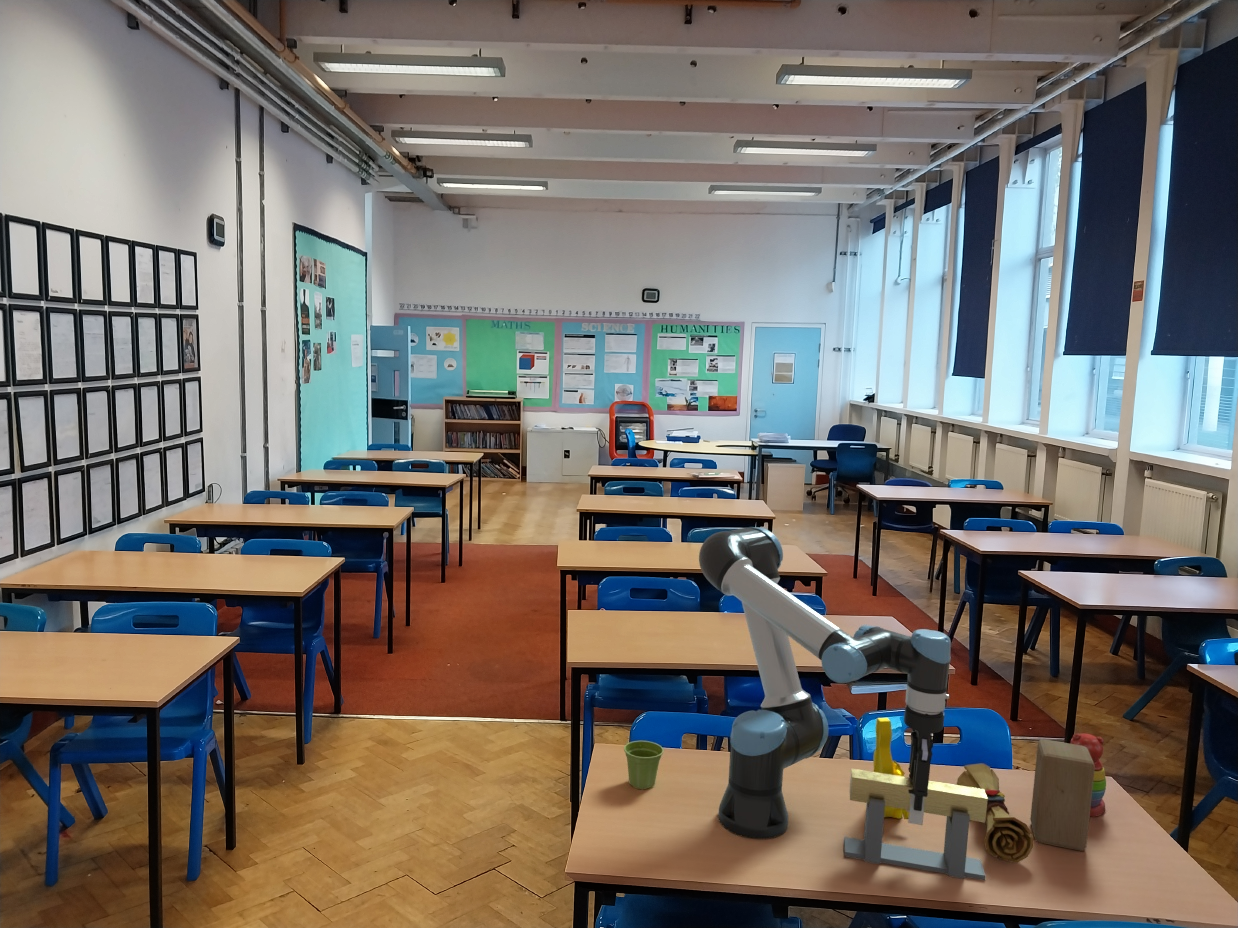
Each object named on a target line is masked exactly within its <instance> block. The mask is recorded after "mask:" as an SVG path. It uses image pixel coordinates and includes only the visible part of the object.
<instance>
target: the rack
mask: <svg viewBox="0 0 1238 928" xmlns="http://www.w3.org/2000/svg"><path fill="white" fill-rule="evenodd" d="M884 811H885V801H884V800H878V799H872V798H869V803H866V806H865V817H864V819H865V820H864V821H865V822H864V833H863V839H860V838H853V837H848V836H844V839H843V847H844V848H843V849H844V857H846V858H851V859H852V858H853V859H858V860H864V862H865V863H869V864H870V863H871V864H878V865H881V864H888V865H893V866H899V867H905V868H909V869H915V870H916V869H917V870H922V871H928V872H934V873H938V874H945V875H947V876H948V877H950V878H951V877H952V878H957V879H963V880H964V879H965V878H969V879H974V880H980V881H986V872H985V870H984V867H983V863H982V860H981V859H980V858H973V857H968V856H967V851H968V841H969V840H968V838H969V831H970V821H971V820H970V816H969V814H968V813H962V812H955V811H953V815H952V817H948V816H946V823H945V824H946V825H945V834H944V844H943V845H944V846H943V852H938V851H933V850H927V849H926V850H925V849H919V848H914V847H908V846H907V847H906V846H903V845H902V846H901V845H897V844H891V843H890V844H889V843H884V842H883V836H884V835H883V834H884V833H883V832H884V822H885V817H884Z"/></svg>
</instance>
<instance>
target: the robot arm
mask: <svg viewBox="0 0 1238 928" xmlns="http://www.w3.org/2000/svg"><path fill="white" fill-rule="evenodd" d="M699 549H700V550H699V552H698V553H699V555H698V561H699V563H698V564H699V566H700V571H701V572H702V574H703V576H704V577H705V578H706V580H707V581H708V582H709V583H710V584H711V585H712V586H713V587H715V588H716V590H718V591H720V592H721V593H722V594H724V595H725V596H734V597H736V598H737V599H738V600H739V601H740V602H741V604H742V605H741V606H742V608H743V613H744V616H745V621H746V625H747V628H748V632H749V636H750V641H751V644H752V649H753V652H754V657H755V661H756V664H757V669H758V673H759V676H760V681H761V684H762V688H763V692H764V699H763V700H762V703H761V704H760V708H761V709H757V710H748V711H745V712H743V713H741V714H739V715H738V716H736V718H734V720H733V722H732V726H731V732H730V737H729V739H730V740H729V742H730V745H729V746H730V748H729V750H730V751H729V767H728V768H729V769H728V784H727V786H726V789H725V791H724V793H723V796H722V798H721V800H720V804H719V807H718V817H717V818H718V821H719V823H720V825H721V827H723V828H724V829H726V830H727V831H729V832H730V833H732V834H734V835H737V836H740V837H743V838H746V839H747V838H748V839H753V840H768V839H774V838H778V837H779V836H781V835H783V834H784V833H785V832H787V829H788V823H789V813H788V811H787V810H788V809H787V807H786V806H787V805H786V801H785V797H784V794H783V779H784V770H785V769H787V768H788V767H791V766H792V765H794V764H796V763H798V762H801V761H802V760H805V759H809V758H810V757H811V758H812V757H813V756H814V755H815V754H816V753H818V752H819V751H821V750H822V749H823V747H824V746H825V744H826V742H827V740H828V737H829V725H828V724H829V723H828V720H827V717H826V715H825V712H824V711H823V710H822V709H820V708H819V705H817V704H815V702H813V701H812V697H811V694H810V693H808V692H806V691H805V690H804V689H803V688H802V684H801V680H800V678H799V674H798V670H797V666H796V662H795V658H794V654H793V653H794V652H793V651H792V650H793V649H792V645H791V642H790V639H792V640H793V641H795V642H796V643H797V644H799V645H800V646H801V647H803V648H804V650H806V651H808V652H809V653H811V655H813V656H815V657H816V658H818V659H819V660H820V662H821V667H822V670H823V671H824V672H825V675H826V676H827V677H828V678H829V679H830V680H831V681H833V682H835V683H838V684H845V683H851V682H855V681H858V680H860V679H861V678H863V677H865V676H868V675H869V674H873V673H875V672H878V671H881V670H883V669H888V670H893V671H895V672H896V671H897V672H899V673H903V674H906V675H907V683H906V691H905V704H906V705H905V706H904V716H903V721H904V724H905V726H907V727H908V728H909V729H911V731H910V740H911V742H910V755H909V766H908V769H907V770H908V772H909V774H908V777H909V778H913V789H912V790H910V789H909V793H911V797H910V808H909V810H906V811H907V812H909V818H908V819H907V822H908V824H913V825H918V826H923V825H924V823H923V822H924V815H925V814H924V806H925V797H927V795H928V793H927V792H928V782H929V781H930V773H931V772H930V771H931V762H932V756H933V751H932V749H933V748H934V739H933V734H934V733H935V734H937V733H941V731H942V730H944V725H945V724H944V722H945V712H944V711H945V709H946V700H949V699H950V695H949V694H947V690H948V689H947V688H948V680H949V672H950V664H951V658H952V657H951V647H952V645H951V644H952V642H951V641H952V640H951V638H950V637H949V636H948V635H947V634H946V633H944V632H941V631H938V630H934V629H933V630H930V629H925V628H923V629H922V628H921V629H915V630H914V631H913V632H912V633H911V636H909V635H906V634H903V633H899V632H895V631H892V630H888V629H885V628H883V627H881V626H875V625H874V626H873V625H868V624H864V625H861V626H859V627H858V630H856V631H855V633H854V634H853V636H851V635H850V634H849V633H847V632H845V631H844V630H842V629H841V628H840V627H838V626H837V625H835V624H834V623H832V622H831V620H830V621H829V620H828V619H827V618H825V617H824V616H823V615H821V614H820V613H818V612H817V611H815V610H814V609H812V608H811V607H810V606H808V605H807V604H806V603H804V602H803V601H801V600H800V599H798V598H797V597H796V596H795V595H793V594H792V593H790V592H789V591H788V590H786V589H784V588H783V587H782V586H780V585H779V584H778V583H779V581H780V579H781V577H780V572H779V568H780V567H781V565H782V562H783V559H784V551H783V546H782V544H781V541H779V539H778V538H777V536H776V535H775V534H774V533H773V532H772V531H770V530H769V529H767V528H764V527H758V526H757V527H754V526H749V527H744V528H743V527H741V528H739V529H738V528H737V529H732V530H726V531H725V530H724V531H723V530H722V531H719V532H715V533H713V534H711V535H710V536H708V537H707V538H706V539H705V540H704V542H703V543H702V545H701V547H700V548H699ZM789 637H790V638H789Z"/></svg>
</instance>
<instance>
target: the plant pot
mask: <svg viewBox="0 0 1238 928" xmlns="http://www.w3.org/2000/svg"><path fill="white" fill-rule="evenodd" d="M623 751H624V754H625V757H626V761H627V769H628V770H627V771H628V783H629V785H631V786H633V788H635V789H638V790H647V789H648V788H649V789H650V788H653V787H655V784H656V780H657V774H658V770H659V764H660V760H661V758H662V755H663V754H664V751H665V750H664V748H663V747H662V745H660V744H658V743H656V742H653V741H648V740H634V741H630V742H627V743H626V744H625V745H624V746H623Z"/></svg>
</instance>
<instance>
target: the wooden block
mask: <svg viewBox="0 0 1238 928" xmlns="http://www.w3.org/2000/svg"><path fill="white" fill-rule="evenodd" d="M1094 770H1095V765H1094V762H1093V760H1092V758H1091V756H1090V753H1089V751H1088V749H1087V747H1085V746H1081V745H1075V744H1070V743H1067V742H1063V741H1057V740H1051V739H1045V738H1041V739H1039V740H1038V742H1037V750H1036V759H1035V768H1034V779H1033V789H1032V790H1033V791H1032V798H1031V799H1032V800H1031V809H1030V810H1031V811H1030V818H1029V821H1030V825H1031V827H1032V834H1033V835H1034V836H1033V837H1034V839H1035V841H1036V842H1038V843H1040V844H1041V843H1042V844H1045V845H1046V844H1047V845H1051V846H1055V847H1061V848H1065V849H1071V850H1074V851H1080V852H1083V851H1085V850H1086V848H1087V842H1088V836H1089V835H1088V834H1089V824H1090V808H1091V798H1092V789H1093V780H1094Z"/></svg>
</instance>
